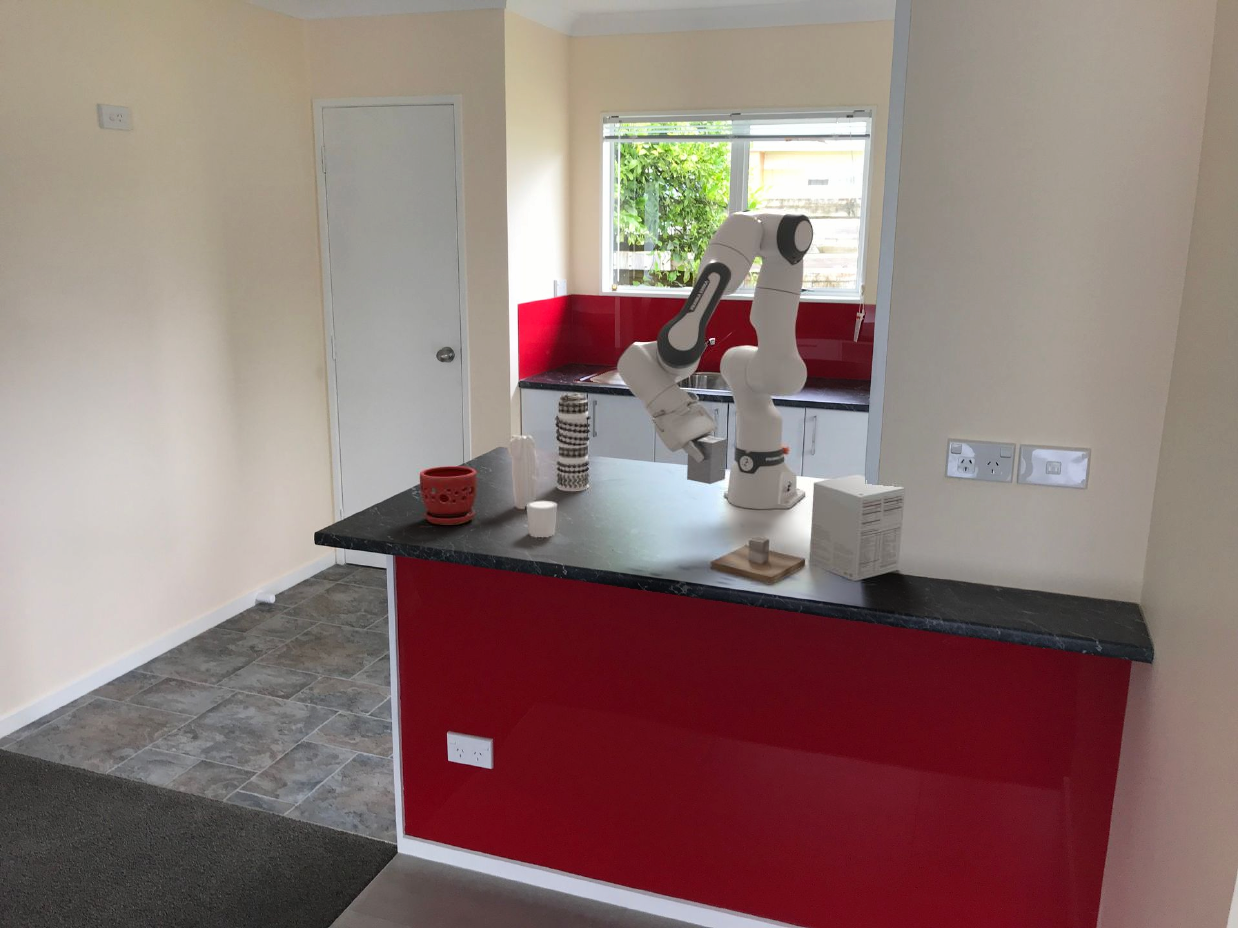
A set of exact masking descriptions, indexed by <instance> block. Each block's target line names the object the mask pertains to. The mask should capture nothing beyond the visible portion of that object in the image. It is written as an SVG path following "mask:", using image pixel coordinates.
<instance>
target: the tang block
mask: <svg viewBox="0 0 1238 928" xmlns="http://www.w3.org/2000/svg"><path fill="white" fill-rule="evenodd" d="M805 565H806V558H805V557H804V558H803V557H800V556H795V555H791V554H787V553H783V552H778V551H775V550H770V538H766V537H762V536H758V535H756V536H754V537H752V538H749V539H748V544H745V545H743V546H741V547H739V548H737V549H735V550H733V551H730V552H729V553H726V554H723V555H722V556H719V557H718V558H716V559H714V560H711V561H710V569H711V570H715V571H718V572H722V573H725V574H730V575H733V576H736V577H737V576H738V577H742V578H746V579H749V580H753V581H756V582H760V583H765V584H769V585H772V584H774V583H777V582H778V581H780V580H782V579H783V578H785V577H787V576H789V575H790V574H793V573H794V572H796V571H798V570H800V569H801V568H803V567H805Z"/></svg>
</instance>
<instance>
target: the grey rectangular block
mask: <svg viewBox="0 0 1238 928" xmlns="http://www.w3.org/2000/svg"><path fill="white" fill-rule="evenodd" d="M691 441H692V442H693V443H694V446H695V447H696V448H697V449H698V450H699V451H702V452H703V453H704V454H705V456H706V457H705V459H703V460H702V461H701V462H697V461H696V460H695V458H694V457H692V456H691V455H689V454H688V453H687V467H686V468H687V470H686V471H687V472H686V480H689V481H692V482H698V483H704V484H709V485H711V484H714V483H718V482H721V481H723V480H725V479H726V467H727V466H726V465H727V446H728V445H727V443H728V440H727V438H725V437H718V436H717V437H716V436H714V437H712V436H706V435H702V436H700V437H698V438H696V439H694V440H691Z"/></svg>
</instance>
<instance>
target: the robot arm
mask: <svg viewBox="0 0 1238 928" xmlns="http://www.w3.org/2000/svg"><path fill="white" fill-rule="evenodd" d="M812 225H813V224H812V223H811V221H810V219H809V217H808V216H807V215H805V214H803V213H800V212H797V211H793V210H792V211H786V210H778V209H764V210H763V209H761V210H760V209H759V210H750V209H746V210H745V209H744V210H740V211H736V212H733V213H731V214H729V215H728V216H727V217H726V218H725V219H724V220H723V222H722V223H720V225H719V227H718V228H717V230H716V232H715V233H714V234H713V236H712V238H711V239H710V240H709V242H708V244H707V246H706V248H705V251H704V252H703V254H702V257H701V258H700V259H701V260H700V262H699V264H698V269H697V271H696V282H695V284H694V286H693V288H692V290H691V292H690V294H689V295H688V297H687V298H686V301H685V303H684V305H683V306H682V308H681V310H680V311H679V312H678V313H677V314H676V316H674V317H673V318H672V319H670V320H669V321H667V323H665V324H664V325H663V326H662V328H661V329H660V330H659V333H658V335H657V340H654V341H649V342H639V341H634V342H633V343H632V344H630V345H628V347H627V348H625V350H623V352H622V353H621V355H620V357H619V358H618V361H617V364H616V367H617V368H616V370H617V372H618V375H619V377H620V378H621V379H622V381H623V382H624V384H625V385H626V387H627V388H628V389H629V391H630V392H631V393H632V395H634V397H636V398H637V399H639V400H640V401H641V404H643V407H644V409H645V410H646V412H647V413H648V414H649V415H650V416H651V421H652V424H653V425H654V426H653V428H654V431H655V433H656V434H657V435H658V437H659V438H660V440H661V442H662V443H663V444H664V446H665V447H666V448H667V449H668V451H670V452H672V453H675V452H677V451H680V450H682V449H683V451H684V452H685V453H686V454H687V455H688V454H689V455H691V456H692V457H694V458H695V460H696V461H697V462H701V461H702V460H703V459H705V457H706V456H705V454H704V453H703V452H702V451H699V450H698V449H697V448H696V447H695V446H694V443H693V442H692V441H691V440H694V439H696V438H698V437H700V436H702V435H706V436H712V437H715V436H714V435H713V433H714V432H715V431H716V430H717V429H718V424H717V422H716V420H715V419H714V417H713V416H712V415H711V413H710V412H709V411H708V409H707V408H706V407H705V405H704V404H702V403H701V402H700V401H699V400H700V398H699V396H698V395H697V394H696V393H695V392H694V391H688V390H685V389H683V388H681V387H680V386H679V385H678V383H680V382H681V381H684V380H685V379H687V378H689V377H691V376H692V375H693V374H694V373H695V372H696V370H697V369H698V366H699V364H700V361H701V356H702V354H703V352H704V349H705V346H706V328H707V325H708V323H709V322H710V321H711V320H710V319H712V318H711V317H712V315H714V312H715V310H716V309H717V306H718V305H719V303H720V301H721V299H722V298H723V297H724V296H730V295H732V294H734V293H736V292H737V290H738V289H739V288H740V286H741V285H742V284H743V282H744V281H745V279H746V277H747V276H748V275H749V272H750V270H751V268H752V267H753V265H754V261H755V260H756V258H760V259H761V266H760V268H759V272H758V275H757V280H756V284H755V288H754V289H755V290H754V292H753V298H752V303H751V309H750V314H749V322H750V323H751V325H752V326H753V328H754V329H755V331H756V332H755V333H756V336H757V344H758V345H757V346H753V345H747V344H746V345H739V346H733V347H730V348H728V349H727V350H726V351H725V352H724V354H723V355H722V357H721V360H720V365H719V371H720V375H721V377H722V379H723V380H724V382H726V383H727V385H728V387H729V390H730V391H731V392H730V393H731V396H732V398H733V402H734V406H735V410H736V412H735V413H736V445H735V447H734V451H733V456H734V458H733V459H734V463H733V464H731V466H730V470H729V478H728V487H727V490H726V491H725V490H724V493H723V496H724V497H725V498H726V499H727V502H729V503H730V504H731V505H734V506H738V507H741V508H745V509H746V508H747V509H755V510H768V509H769V510H771V509H790V508H792V507H793V506H795V504H797V503H798V502H799V501H800V500H802V499H803V498H804V497H805V496H806V491H805V490H802V489H801V488H797V474H796V472H795V471H794V470H793V469H792V468H791V467H790V465H789V466H788V464H787V463H786V462H785V455H786V456H787V455H789V453H790V447H789V446H783V445H782V442H783V441H782V440H783V439H782V436H783V416H782V415H781V413H780V411H779V410H778V409H777V408H776V406H775V404H774V402H773V398H772V397H789V396H794V395H796V394H798V393H800V392H801V391H802V389H803V388H804V387H805V383H806V382H807V377H808V371H807V366H806V363H805V362H804V360H803V359H802V357H801V355H800V354H799V350H798V345H797V340H796V339H797V338H796V321H797V317H798V310H799V305H800V304H799V303H800V300H801V293H802V288H803V279H804V257H805V256H806V254H807V253H808V251H809V250H810V248H811V245H812V243H813V239H814V228H813V226H812Z"/></svg>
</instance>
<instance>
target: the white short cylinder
mask: <svg viewBox="0 0 1238 928" xmlns="http://www.w3.org/2000/svg"><path fill="white" fill-rule="evenodd" d="M526 506H527V507H526V513H527V521H528V531H529V536H531V537H533V536H534V537H533V538H537V537H542V538H543V537H546V538H550V537H549V536H551V537H553V536H555V534H554V533H555V532H556V521H557V520H556V519H557V513H558V512H557V511H558V504H557V502H554V501H551V500H535V501H533V502H530V503H527V505H526ZM552 535H553V536H552ZM542 538H541V539H542Z"/></svg>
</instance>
